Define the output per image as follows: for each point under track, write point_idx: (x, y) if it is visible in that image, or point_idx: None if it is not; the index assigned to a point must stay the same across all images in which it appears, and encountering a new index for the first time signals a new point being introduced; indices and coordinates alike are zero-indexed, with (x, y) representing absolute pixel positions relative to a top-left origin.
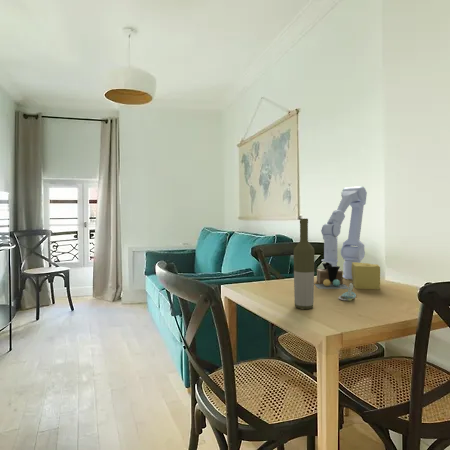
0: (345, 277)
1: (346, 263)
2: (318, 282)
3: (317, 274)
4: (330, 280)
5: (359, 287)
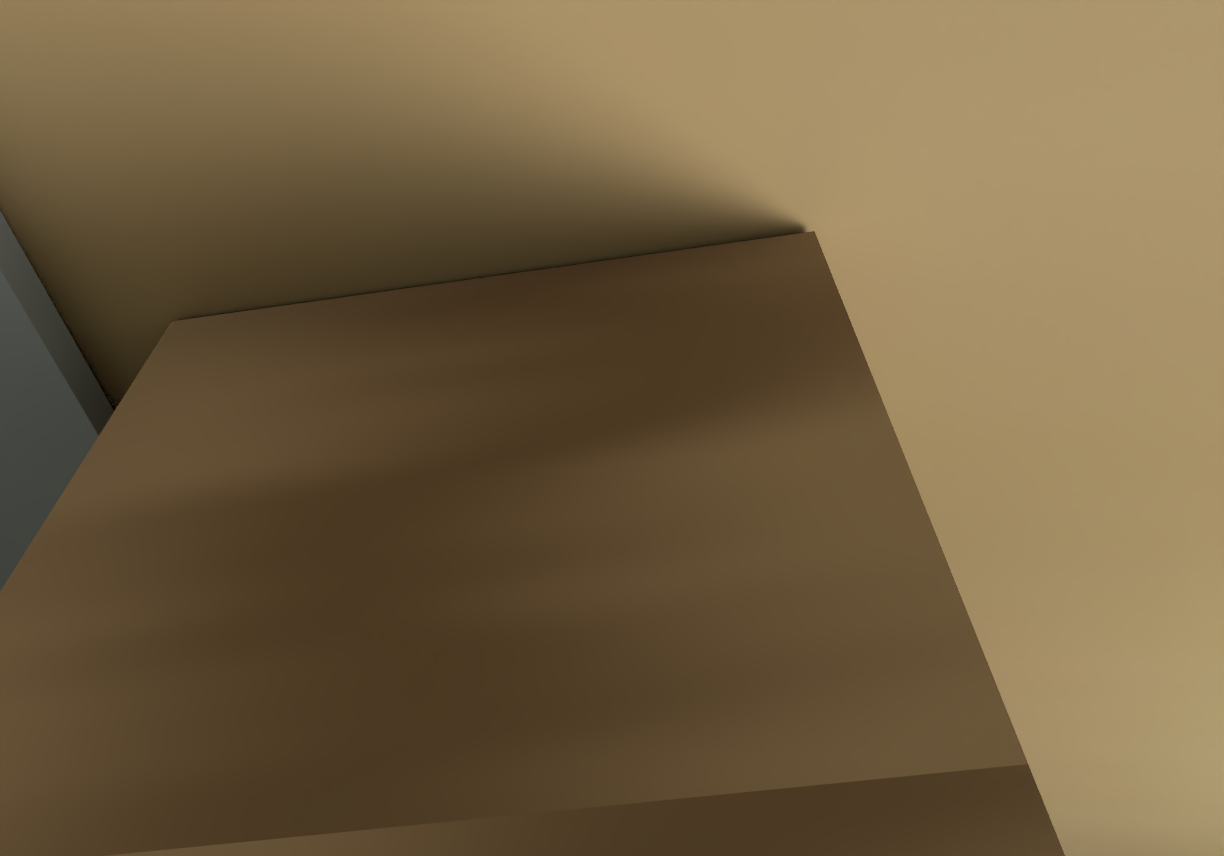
0: None
1: None
2: (401, 313)
3: (694, 533)
4: None
5: None
